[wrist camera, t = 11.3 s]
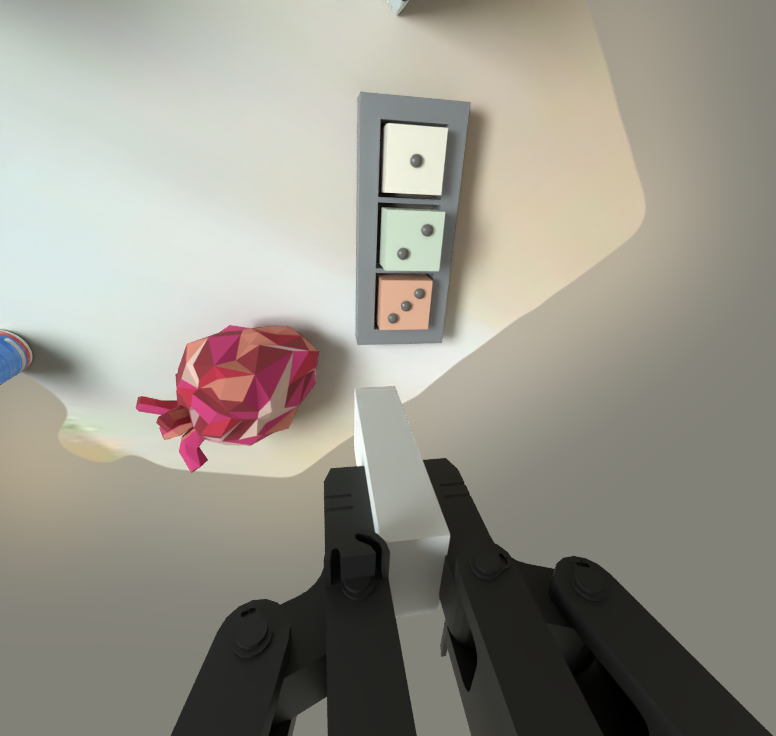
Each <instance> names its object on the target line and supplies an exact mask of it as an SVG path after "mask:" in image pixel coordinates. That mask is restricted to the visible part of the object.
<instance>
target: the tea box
mask: <svg viewBox="0 0 776 736" xmlns="http://www.w3.org/2000/svg"><path fill="white" fill-rule="evenodd" d="M386 1H387V2H388V4H389V5H390V7H391V8H392V10H393V11H394V12H395V14H396V15H398V14H399V13H400V12H401V11H402V9H403V8H404V7H405V6H406V4H407V3H408V2H409V0H386Z"/></svg>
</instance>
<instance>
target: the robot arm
mask: <svg viewBox="0 0 776 736" xmlns="http://www.w3.org/2000/svg"><path fill="white" fill-rule="evenodd" d="M354 437H355V439H354V440H355V442H354V448H355V456H356V463H357V466H355V467H343V468H331V469H330V471H329V473H328V475H327V477H326V479H325V481H324V510H325V511H324V515H325V556H324V569H323V571H322V574H321V576H320V577H319V579H318V580H317V582H316V583H315V584H314V585H313V586H312V587H311V588H310V589H309V590H308V591H306V592H304V593H303V594H301V595H299V596H298V597H296V598H294V599H291V600H289V601H287V602H285V603H283V604H281V605H279V604H278V603H277V602H274V601H271V600H267V599H261V600H252V601H250V602H248V603H246V604H243V605H241V606H239V607H238V608H237V609H236V610H234V611H233V612H232V613H231V614H230V615H229V616H228V617H227V618H226V619H225V621H224V622H223V624H222V625H221V627H220V628H219V630H218V632H217V634H216V636H215V638H214V641H213V643H212V645H211V647H210V649H209V652H208V654H207V656H206V658H205V661H204V663H203V665H202V667H201V670H200V672H199V674H198V676H197V678H196V681H195V683H194V685H193V687H192V690H191V692H190V694H189V696H188V698H187V701H186V703H185V705H184V707H183V710H182V712H181V714H180V716H179V718H178V721H177V723H176V726H175V727H174V729H173V732H172V734H171V736H292V734H293V730H294V726H295V721H296V716H297V715H298V714H299V713H301V712H303V711H305V710H306V709H307V708H309V707H311V706H312V705H314V704H316V703H317V702H319V701H320V700H322V699H324V698H325V697H327V717H328V736H417V735H416V729H415V724H414V718H413V712H412V707H411V701H410V696H409V690H408V684H407V679H406V673H405V668H404V662H403V657H402V651H401V645H400V640H399V634H398V629H397V623H396V618H400V617H407V616H414V615H420V614H426V613H433V612H438V606H439V600H440V601H441V604H442V608H443V611H444V615H445V623H444V629H443V635H442V640H441V645H440V646H441V656H446V652H447V648H448V652H449V655H450V659H451V663H452V666H453V670H454V674H455V677H456V681H457V684H458V688H459V692H460V696H461V699H462V703H463V706H464V710H465V714H466V718H467V721H468V725H469V729H470V732H471V736H772V734H770V732H769V731H767V729H765V728H764V727H763V726H762V725H761V724H760V723H759V722H758V721H757V720H756V719H755V718H754V717H753V716H752V715H751V714H750V713H749V712H748V711H747V710H746V709H745V708H744V707H743V706H742V705H741V704H740V703H739V702H738V701H737V700H736V699H735V698H734V697H733V696H732V695H731V694H730V693H729V692H728V691H727V690H726V689H725V688H724V687H723V686H722V685H721V684H720V683H719V682H718V681H717V680H716V679H715V678H714V677H713V676H712V675H711V674H710V673H709V672H708V671H707V670H706V669H705V668H704V667H703V666H702V665H701V664H700V663H699V662H698V661H697V660H696V659H695V658H694V657H693V656H692V655H691V654H690V653H689V652H688V651H687V650H686V649H685V648H684V647H683V646H682V645H681V644H680V643H679V642H678V641H677V640H676V639H675V638H674V637H673V636H672V635H671V634H670V633H669V632H668V631H667V630H666V629H665V628H664V627H663V626H662V625H661V624H660V623H659V622H658V621H657V620H656V619H655V618H654V617H653V616H652V615H651V614H650V613H649V612H648V611H647V610H646V609H645V608H644V607H643V606H642V605H641V604H640V603H639V602H638V601H637V600H636V599H635V598H634V597H633V596H632V595H631V594H630V593H629V592H628V591H627V590H626V589H625V588H624V587H623V586H622V585H621V584H619V582H618V581H617V580H616V579H615V578H614V577H613V576H612V575H611V574H610V573H608V572H607V571H606V570H605V569H603V568H602V567H601V566H600V565H598V564H596V563H594V562H592V561H590V560H588V559H586V558H581V557H576V556H571V557H565V558H563V559H561V560H560V561H559V562H558V563H557V564H556V567H555V569H552V568H547V567H541V566H536V565H531V564H526V563H523V562H519V561H517V560H515V559H513V558H511V556H510V555H509V553H508V552H507V551H505V550H504V549H503V548H501V547H500V546H499V545H497V544H495V543H494V542H493V540H492V538H491V537H490V535H489V533H488V530H487V528H486V527H485V524H484V522H483V520H482V518H481V516H480V514H479V512H478V510H477V508H476V506H475V504H474V502H473V499H472V498H471V496H470V494H469V491H468V489H467V487H466V485H464V481H463V479H462V477H461V475H460V473H459V471H458V469H457V468H456V467H455V466H454V465H453V464H452V463H450V461H448V460H447V459H446V458H441V459H429V460H422V457H421V455H420V452H419V449H418V447H417V444H416V441H415V439H414V436H413V433H412V431H411V428H410V425H409V423H408V420H407V418H406V414H405V412H404V409H403V407H402V404H401V401H400V398H399V396H398V393H397V390H396V388H395V386H388V387H365V388H355V410H354Z"/></svg>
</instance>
